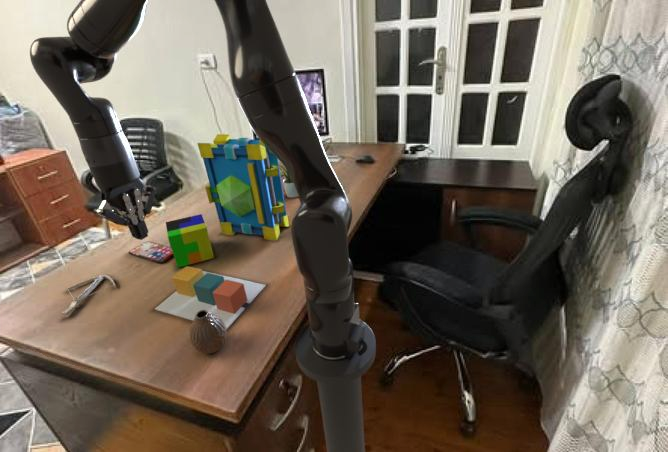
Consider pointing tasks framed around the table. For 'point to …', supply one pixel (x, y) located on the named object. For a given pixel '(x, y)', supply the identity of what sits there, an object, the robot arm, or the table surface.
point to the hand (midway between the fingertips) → (142, 237)
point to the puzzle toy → (189, 240)
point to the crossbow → (85, 293)
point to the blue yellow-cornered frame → (244, 186)
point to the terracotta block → (230, 296)
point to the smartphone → (152, 252)
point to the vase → (207, 332)
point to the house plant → (288, 183)
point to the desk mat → (191, 305)
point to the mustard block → (187, 280)
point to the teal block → (207, 287)
